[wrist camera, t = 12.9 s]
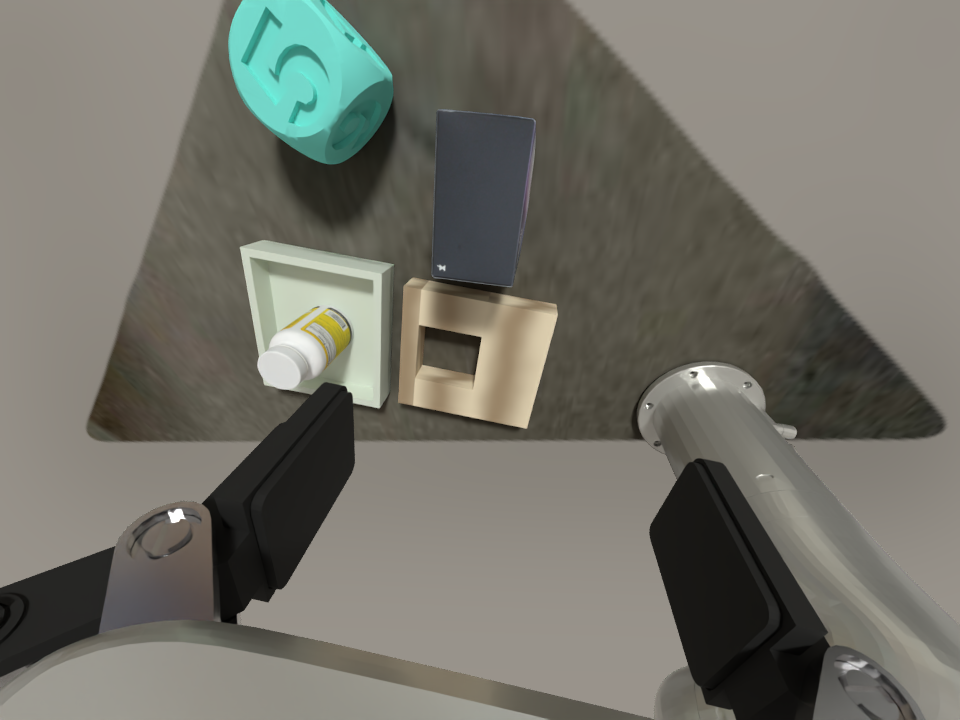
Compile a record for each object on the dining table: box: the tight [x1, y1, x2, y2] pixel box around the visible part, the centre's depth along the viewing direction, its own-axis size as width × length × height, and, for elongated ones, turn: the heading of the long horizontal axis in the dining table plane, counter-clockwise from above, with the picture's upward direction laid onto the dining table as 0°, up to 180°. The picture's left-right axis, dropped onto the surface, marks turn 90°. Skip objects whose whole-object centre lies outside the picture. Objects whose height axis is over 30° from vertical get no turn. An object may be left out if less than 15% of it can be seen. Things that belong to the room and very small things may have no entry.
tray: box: [240, 240, 394, 408], centre depth 40 cm, size 14×16×4 cm
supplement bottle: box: [258, 305, 353, 390], centre depth 37 cm, size 5×5×10 cm
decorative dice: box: [228, 0, 393, 164], centre depth 27 cm, size 8×8×8 cm
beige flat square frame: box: [398, 278, 558, 429], centre depth 40 cm, size 15×14×3 cm
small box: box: [432, 109, 536, 287], centre depth 29 cm, size 11×6×10 cm, turn 175°
